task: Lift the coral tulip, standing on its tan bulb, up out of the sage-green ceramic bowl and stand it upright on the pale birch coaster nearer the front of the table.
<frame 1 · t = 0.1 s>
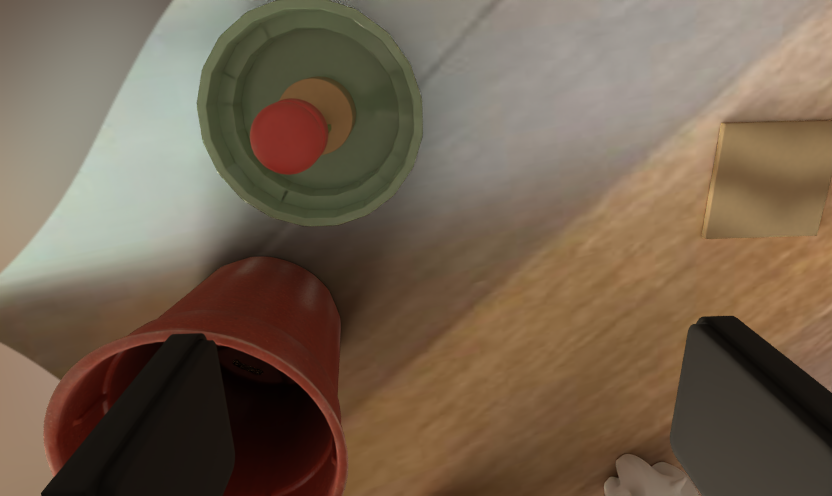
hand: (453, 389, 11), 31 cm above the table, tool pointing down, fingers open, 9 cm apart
flower pot: (267, 321, 45), on the table
elephant figurine: (631, 484, 52), on the table
tulip: (321, 112, 38), point 1 cm above the table, touching bowl
bowl: (322, 112, 39), on the table
coaster: (768, 180, 41), on the table
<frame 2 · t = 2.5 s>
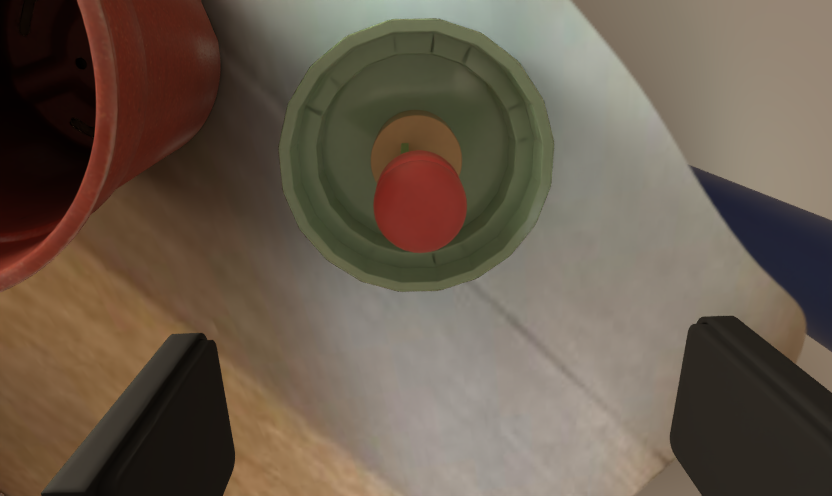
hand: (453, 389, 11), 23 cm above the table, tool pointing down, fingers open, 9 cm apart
flower pot: (115, 51, 30), on the table
tulip: (415, 152, 32), point 1 cm above the table, touching bowl
bowl: (415, 150, 32), on the table
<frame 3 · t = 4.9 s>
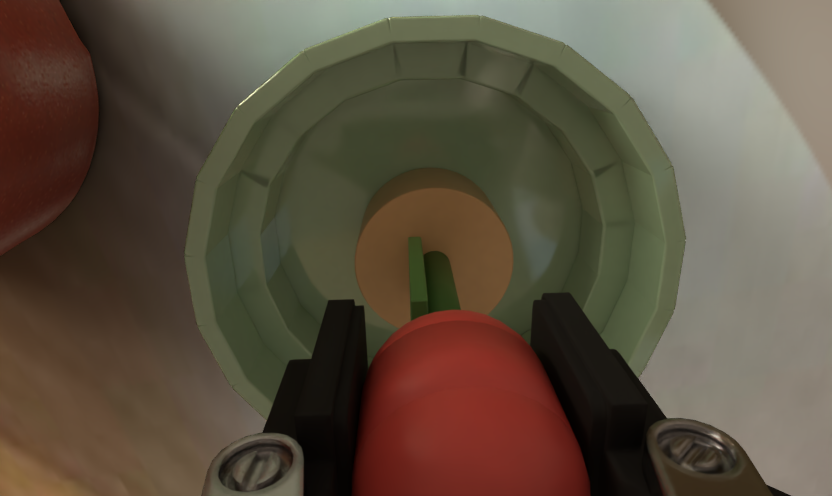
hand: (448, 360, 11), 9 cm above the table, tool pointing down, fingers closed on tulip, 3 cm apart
tulip: (429, 234, 19), point 1 cm above the table, touching bowl, gripper
bowl: (428, 229, 20), on the table
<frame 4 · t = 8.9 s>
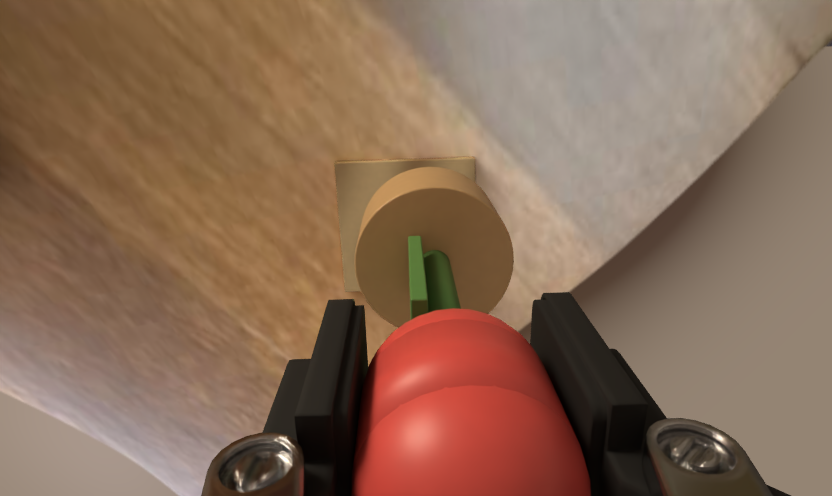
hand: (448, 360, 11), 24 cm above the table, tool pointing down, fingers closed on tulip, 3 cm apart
tulip: (429, 234, 19), point 16 cm above the table, touching gripper
coaster: (407, 225, 36), on the table
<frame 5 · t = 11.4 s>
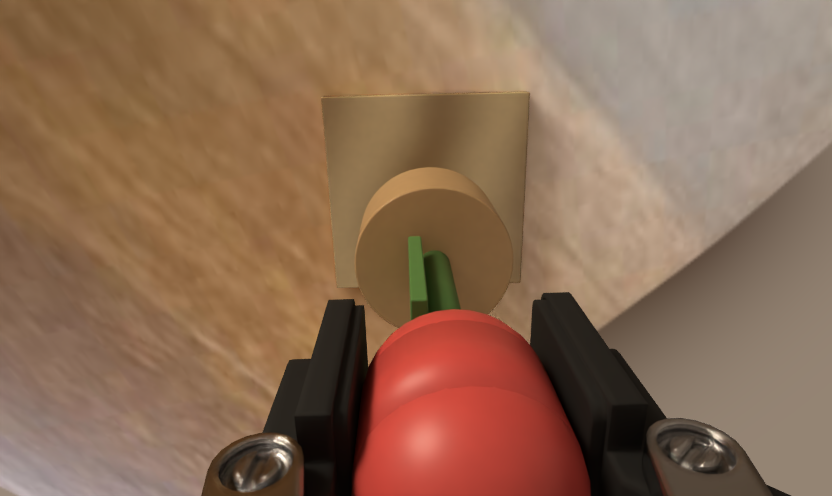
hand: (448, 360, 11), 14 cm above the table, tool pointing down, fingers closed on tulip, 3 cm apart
tulip: (429, 234, 19), point 6 cm above the table, touching gripper
coaster: (426, 193, 25), on the table
when the fingers open (9 cm above the table, at t = 12.9 s): tulip stays where it is, resting on coaster.
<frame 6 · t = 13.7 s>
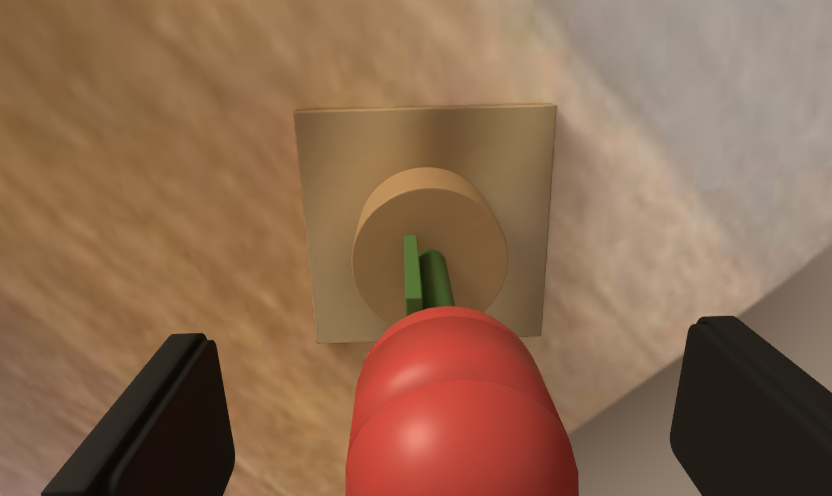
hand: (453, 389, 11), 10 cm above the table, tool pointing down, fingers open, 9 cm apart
tulip: (425, 233, 20), point 1 cm above the table, touching coaster
coaster: (426, 228, 20), on the table
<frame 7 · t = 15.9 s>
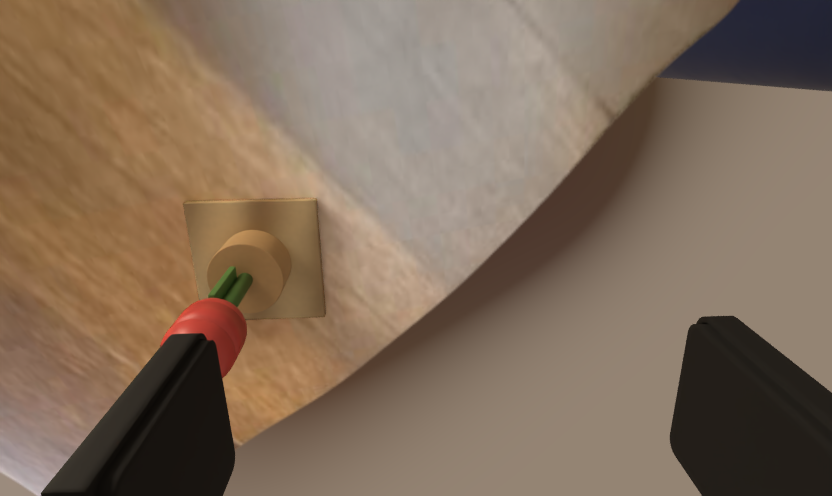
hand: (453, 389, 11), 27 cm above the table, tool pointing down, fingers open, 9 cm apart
tulip: (256, 263, 38), point 1 cm above the table, touching coaster
coaster: (258, 259, 38), on the table
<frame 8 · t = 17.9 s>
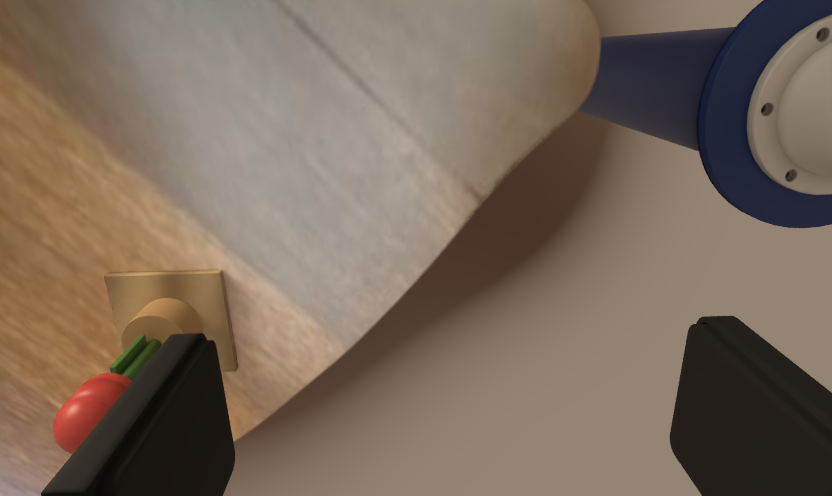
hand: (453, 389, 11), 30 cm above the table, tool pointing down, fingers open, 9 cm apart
tulip: (171, 325, 43), point 1 cm above the table, touching coaster
coaster: (175, 322, 43), on the table
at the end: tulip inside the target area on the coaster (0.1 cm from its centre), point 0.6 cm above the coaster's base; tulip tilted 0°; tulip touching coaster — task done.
